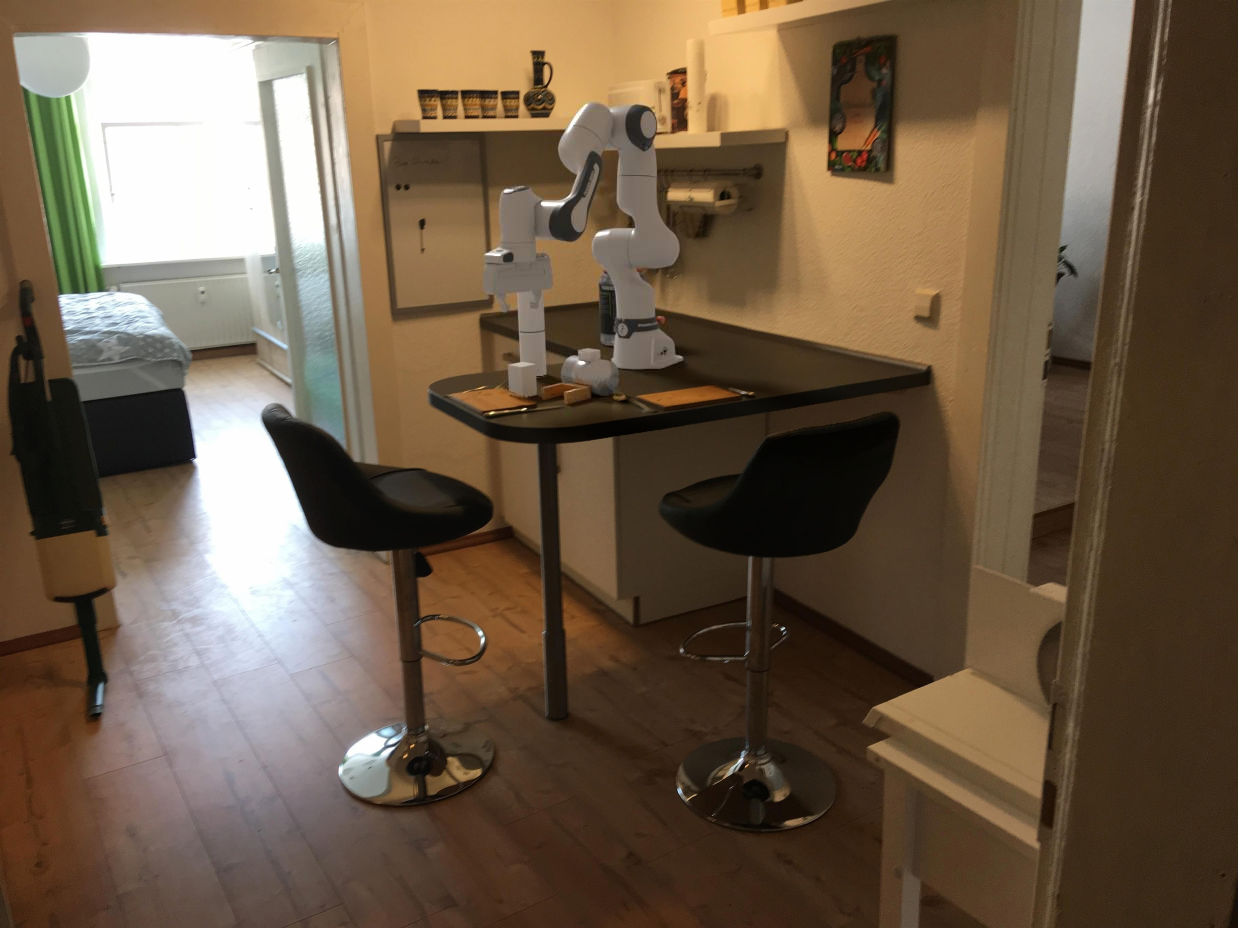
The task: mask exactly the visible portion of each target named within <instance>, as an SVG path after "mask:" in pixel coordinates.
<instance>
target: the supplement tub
mask: <svg viewBox="0 0 1238 928" xmlns="http://www.w3.org/2000/svg"><path fill="white" fill-rule="evenodd" d="M602 270H603V274H602V275H601V276H600V278H599V279H598V305H599V306H598V308H599V310H598V311H599V312H598V313H599V338H600V342H601V344H603V345H604V346H611V347H614V342H615V335H616V333H617V330H616V329H615V317H616V316H617V306H616V293H615V288H614V285H613V282H612V280H611V278H610V276H609V274H608V273H607V272H606V270H605V269H604V268H603V267H602ZM636 271H637V274H638V276H639V277H640V278H641V279H642V280H643V281H645V282H647V283H648V280H647V277H646V275H644V273H643V268H636Z"/></svg>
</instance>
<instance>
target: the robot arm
mask: <svg viewBox="0 0 1238 928" xmlns="http://www.w3.org/2000/svg"><path fill="white" fill-rule="evenodd" d="M657 131H658V119H657V116H656V114H655V113H654V111H653V109H652V108H651V107H649V106H648V105H644V104H637V103H636V104H631V105H630V104H629V105H628V104H620V105H615V106H611V107H610V106H609V107H607V106H606V105H605V104H603V103H601V102H598V101H589V102H587V103H585V104H583V106H582V107H581V108H580V109H579V110H578V111H577V112H576V114H575V115H574V116H573V118H572V119H571V120H570V122H569V123H568V125H567V126H566V128H565V131H564V132H563V134H562V136H561V137H560V140H559V143H558V147H557V151H558V156H559V159H560V161H561V162H562V164H563V166H564V167H565V168H566V169H567V170H569V171H570V172H571V173H572V174H574V175H576V178H575V180H574V182H573V186H572V188H571V191H570V194H569V195H568V196H567V197H565V198H563V199H558V200H557V199H555V200H553V199H543V198H541V197H539V196H538V195H536V194H535V193H534V192H533V190H532V188H531V186H527V185H518V186H510V187H508V188H505V189H504V190H502V191H501V194H500V197H499V201H498V202H499V203H498V206H499V207H498V225H499V227H500V228H499V229H500V231H501V232H500V239H499V246H498V247H496V248H495V249H492V250H491V251H488V252H486V253H484V254H483V262H484V263H486V264H485V265H484V266H483V270H482V271H483V272H482V287H483V291H484V293H485V294H486V295H491V296H493V295H494V296H496V300H497V302H498V304H499V305H500V312H501V313H509V312H510V311H511V307H510V304H508V303H507V302H506V300H505V299H506V298H507V294H517V292H527V291H532V294H534V297H533V300H532V301H530V308H531V309H537V308H538V307H539V303H538V302H539V300H540V298H541V295H542V290H543V291H545V290H551V289H552V288H553V286H554V276H553V269H552V265H551V257H550V255H548V254H547V253H546V252H537V244H536V242H537V241H536V239H537V240H545V241H546V240H547V241H550V240H551V241H562V242H567V243H572V242H576V241H577V240H579V239H580V237H582V236H583V234H584V232H585V230H586V229H587V224H588V220H589V219H588V218H589V212H590V209H591V206H592V203H593V202H594V198H595V195H596V192H597V188H598V187H599V183H600V180H601V177H602V175H603V174H602V173H603V170H604V169H603V168H604V163H603V159H602V153H604V150H617V153H618V155H619V156H618V163H617V177H616V178H617V179H616V203H617V206H618V207H619V209H620V211H622V212H623V213H625V214H626V215H628V216H630V217H631V218H632V219H633V223H634V227H633V228H631V227H630V228H629V227H628V228H627V227H624V228H623V227H615V228H607V229H603V230H599V231H598V232H597V233H595V235H594V237H593V239H592V241H591V253H592V256H593V259H594V260H595V262H596V263H597V264H598V265H599V266H601V267H602V269H603V268H604V269H605V270H606V272H607V273H608V274H609V276H610V278H611V280H612V282H613V285H614V288H615V293H616V306H617V316H616V317H615V329H616V330H617V333H616V335H615V342H614V346H613V357H611V359H610V361H612V362H613V363H615V365H616V366H617V368H618V369H625V370H626V369H627V370H645V369H646V370H647V369H651V370H654V369H655V370H656V369H657V370H658V369H659V370H661V369H663V368H667V367H670V366H673V365H674V364H677V363H679V362H682V361H684V357H683V356H681V355H680V354H678V355H677V354H676V348H675V347H676V346H675V342H674V340H673V339H672V338H671V337H670V336H668V335H667V333H666V332H664V331H663V330H662V329H660V324H664V323H665V320H666V319H665V316H660V315H658V316H656V299H655V298H656V293H655V289H654V288H653V286H652V285H651V284H650V283H648V281H647V282H645V281H643V280H642V279H641V278H640V277H639V276H638V274H637V271H636V268H642V269H661V268H665V267H671V266H673V265H674V264H675V262H676V261H677V259H678V257H679V254H680V248H681V247H680V243H679V242H680V241H679V240H678V239H679V238H678V237H677V236H676V234H675V233H674V231H672V230H671V229H670V228H669V227H668V226H667V225H666V224H665V222H664V220H663V219H662V217H661V215H660V212H659V207H658V197H657V195H658V194H657V187H658V186H657V185H658V184H657V180H658V178H657V177H658V174H657V173H658V168H657V154H656V148H655V147H656V146H655V144H654V141H655V139H656V135H657Z"/></svg>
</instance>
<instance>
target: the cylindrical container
mask: <svg viewBox="0 0 1238 928" xmlns="http://www.w3.org/2000/svg"><path fill="white" fill-rule="evenodd" d="M516 294H517V295H516V296H517V316H518V317H517V319H518V335H519V358H520V359H519V361H520V362H526V363H532V364H536V376H543V375H546V374H547V357H546V356H547V355H546V330H545V329H546V328H545V327H546V326H545V323H546V322H545V307H544V306H545V305H544V303H545V302H544V301H545V300H544V298H545V297H544V290H542V295H541V298H540V300H539V302H538V303H539V307H538V308H537V309H531V308H530V301H532V300H533V297H534V294H532V291H527V292H517V293H516ZM546 376H547V375H546ZM543 377H544V376H543Z"/></svg>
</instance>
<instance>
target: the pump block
mask: <svg viewBox="0 0 1238 928" xmlns="http://www.w3.org/2000/svg"><path fill="white" fill-rule="evenodd" d="M507 372H508V373H507V375H508V392H509V391H511V392H514V393H516V394H518V395H521V396H525V398H529V397H533V396H537V395H538V390H537V386H538V385H537V377H536V364H532V363H526V362H516V363H511V364H507ZM528 396H529V397H528Z"/></svg>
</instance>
